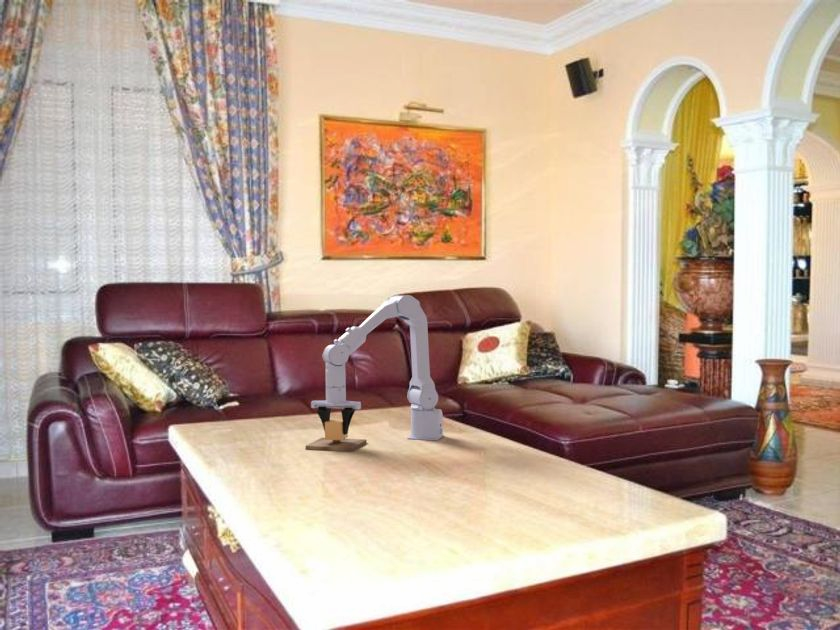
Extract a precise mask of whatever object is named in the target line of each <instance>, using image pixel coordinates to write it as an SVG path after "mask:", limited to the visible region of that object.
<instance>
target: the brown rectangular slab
mask: <svg viewBox="0 0 840 630" xmlns="http://www.w3.org/2000/svg"><path fill="white" fill-rule="evenodd" d="M367 443H368V442H367V439H360V438H345V439H343V440H325V437H321V438H319V439H316V440H314V441H313V442H312V441H311V443H309V444H306V445H305V450H311V451H313V450H315V451H333V452H335V451H336V452H354V451H355V450H357V449H359V448H361V447H362V446H364V445H366V444H367Z"/></svg>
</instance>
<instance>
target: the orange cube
mask: <svg viewBox="0 0 840 630" xmlns="http://www.w3.org/2000/svg"><path fill="white" fill-rule="evenodd" d="M348 436H349V435H348V434H346V435H344V434H343V419H337V418H330V420H329V421H326V422H325V431H324V438H325V440H343V439H348Z"/></svg>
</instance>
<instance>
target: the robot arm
mask: <svg viewBox="0 0 840 630" xmlns="http://www.w3.org/2000/svg"><path fill="white" fill-rule="evenodd" d="M391 318H399V319H401V320H402V321H404V323H406V324H407V325H409V335H410V337H409V339H410V354H411V357H410V358H411V373H412V375H411V376H412V377H411V379H410V381H409V388H408V390H407V395H406V396H407V400H408V402H409V403H410V430H411V431H410V433H411V434H410V435H409V436H407V438H406V439H407V440H418V441H420V440H422V441H425V440H426V441H427V440H428V441H439V440H440V439H441V438H442V437H444V427H443V426H444V424H443V423H444V418H443V417H444V415H443V411H442V409H440V408H435V407H436V406H437V404H438V401H439V393H438V392H437V389H436V384H435V382H434V380H433V379H432V377H431V368H430V353H429V352H430V351H429V348H430V347H429V331H428V327H429V326H428V318H427V315H426V313H425V311H424V310H423V309H422V307H421V302H420V301H419V300H418V299H416V298H415V297H414V296H412V295H410V294H405V295H397V294H393V295H391V296H390V297H389V298H388V299H386V300H385V301H383V302H382V303H381V305H379V306H378V307H377V308H376V309H375V310H374V311H373V312H372V313H371V314H370V315H369V316H368V317H367V318H366V319H365V320H364V321H363V322H362V323H361V324H359V326H351V327H347V328H346V329H345V333H343V334H342V335H341V336H340V337H338V339H337V338H335V339H334V340H333V344H329V345H327V346H326V347H324V350H323V353H322V355H321V357H322V360H323V361H324V362H325V400H312V401H311V402H310V407H311V409H317V410H316V413H317V415H318V418H319V419H320V421H321V424H322V427H323V430H324V432H325V422H326V421H329V420H331V418H330V417H331V410H332V409H339V410H340V412H341V420H343V434H344V435H346V434H348V433H349V427H350V425H351V421H352V418H353V416H354V414H355V412H356V411H357V410H361V409H362V402H361V401H353V400H352V401H351V400H347V390H346V389H347V387H346V385H347V381H346V380H347V379H346V363H347V362H348V360H349V357H350V356H351V355H352V353H354V352H355V351H357V349H358V348H360V347H361V346H362V345H363V344H364V343H365V342H366V341H367V335H368V334H370V333H371V332H372V331H373V330H374V329H375V328H377V327H378V326H379V325H381V324H382V323H383V322H384V321H385V320H387V319H391ZM341 409H342V410H341Z"/></svg>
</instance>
